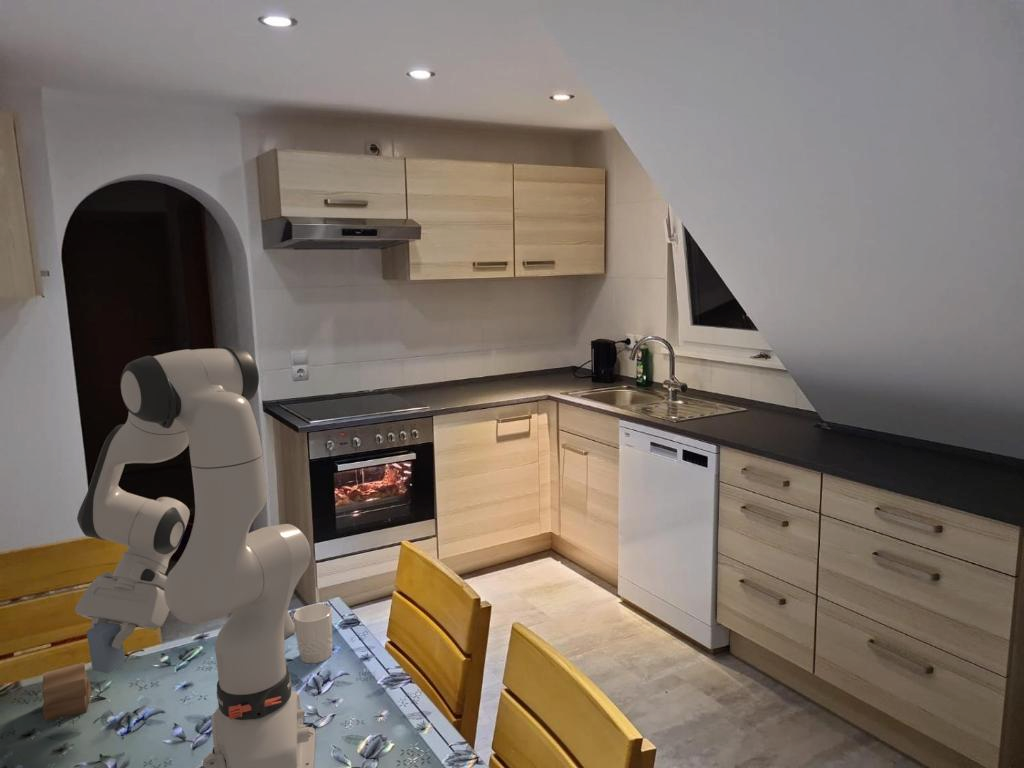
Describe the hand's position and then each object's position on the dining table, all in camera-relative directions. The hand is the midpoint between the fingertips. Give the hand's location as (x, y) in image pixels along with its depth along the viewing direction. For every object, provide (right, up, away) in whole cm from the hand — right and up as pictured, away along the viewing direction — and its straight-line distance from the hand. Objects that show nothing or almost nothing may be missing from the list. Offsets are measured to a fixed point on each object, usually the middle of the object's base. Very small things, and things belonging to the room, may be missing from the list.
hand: (102, 645), depth 143 cm
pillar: (0, -4, +1) cm, 5 cm away
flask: (+25, -8, +30) cm, 39 cm away
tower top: (-9, -10, +3) cm, 14 cm away
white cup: (+36, -9, +19) cm, 42 cm away
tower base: (-9, -14, +4) cm, 16 cm away
